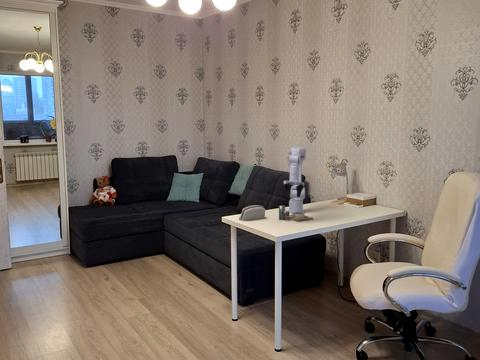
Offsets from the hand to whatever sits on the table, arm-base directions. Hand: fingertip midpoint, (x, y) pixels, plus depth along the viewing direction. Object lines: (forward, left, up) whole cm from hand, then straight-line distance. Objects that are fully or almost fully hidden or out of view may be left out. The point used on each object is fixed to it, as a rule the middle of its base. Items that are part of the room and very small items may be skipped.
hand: (293, 196), depth 261 cm
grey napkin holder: (-19, -18, -16) cm, 31 cm away
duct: (-4, +7, -16) cm, 18 cm away
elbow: (-7, -3, -16) cm, 17 cm away
